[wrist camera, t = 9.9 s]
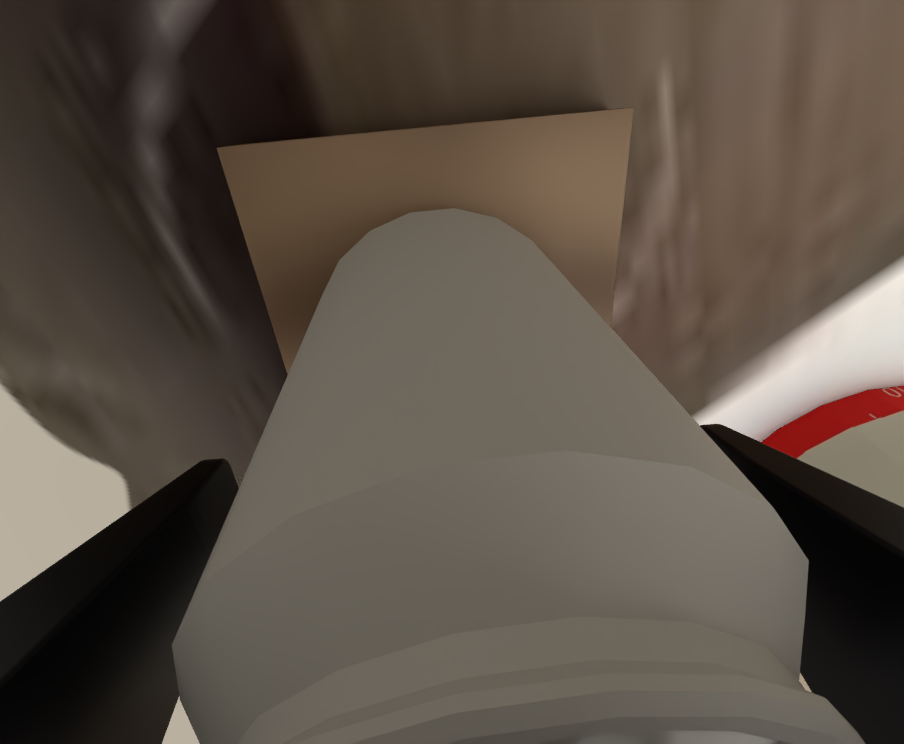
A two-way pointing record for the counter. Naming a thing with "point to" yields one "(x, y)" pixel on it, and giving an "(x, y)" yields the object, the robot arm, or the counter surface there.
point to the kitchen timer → (853, 440)
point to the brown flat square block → (430, 198)
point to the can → (490, 531)
